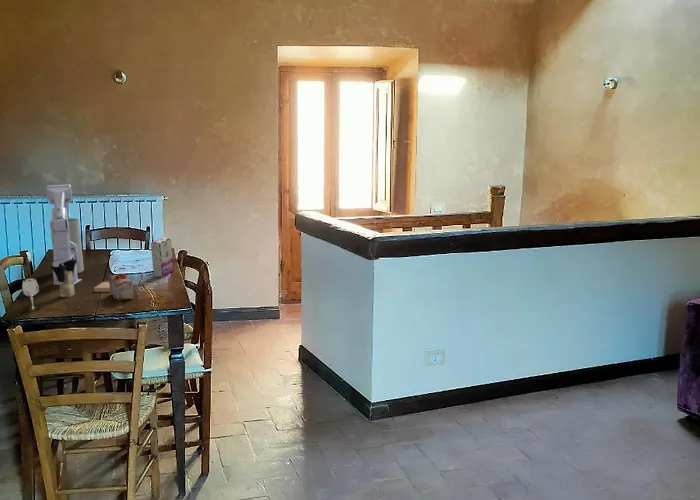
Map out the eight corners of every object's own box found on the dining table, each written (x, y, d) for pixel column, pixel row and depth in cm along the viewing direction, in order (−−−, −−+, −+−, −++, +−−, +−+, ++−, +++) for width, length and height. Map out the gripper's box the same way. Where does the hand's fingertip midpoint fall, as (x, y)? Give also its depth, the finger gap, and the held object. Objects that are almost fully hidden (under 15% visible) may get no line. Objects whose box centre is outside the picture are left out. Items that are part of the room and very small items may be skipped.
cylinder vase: (77, 275, 310) (71, 222, 304) (50, 275, 310) (44, 223, 305) (88, 268, 322) (82, 218, 317) (62, 269, 322) (57, 218, 317)
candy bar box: (164, 271, 315) (161, 237, 312) (174, 271, 314) (171, 237, 311) (152, 277, 304) (150, 242, 301) (162, 277, 303) (160, 242, 300)
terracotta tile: (94, 287, 281) (110, 287, 281) (103, 282, 290) (118, 282, 290) (94, 292, 282) (110, 292, 281) (103, 287, 291) (119, 287, 290)
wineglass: (28, 308, 260) (24, 278, 258) (43, 307, 261) (40, 277, 258) (22, 312, 255) (18, 282, 252) (38, 311, 255) (34, 281, 253)
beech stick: (60, 296, 275) (58, 273, 273) (65, 294, 279) (62, 271, 277) (70, 296, 275) (67, 273, 273) (74, 294, 279) (72, 271, 277)
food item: (136, 299, 270) (134, 276, 268) (116, 303, 265) (114, 279, 263) (126, 292, 281) (124, 269, 279) (107, 295, 276) (104, 272, 274)
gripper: (61, 243, 280) (64, 274, 283) (43, 251, 266) (47, 284, 269) (77, 243, 279) (81, 274, 282) (61, 251, 265) (64, 284, 268)
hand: (65, 279), depth 276 cm, fingers open, 7 cm apart
